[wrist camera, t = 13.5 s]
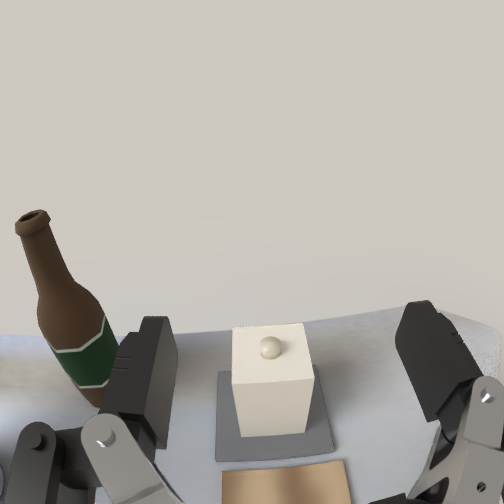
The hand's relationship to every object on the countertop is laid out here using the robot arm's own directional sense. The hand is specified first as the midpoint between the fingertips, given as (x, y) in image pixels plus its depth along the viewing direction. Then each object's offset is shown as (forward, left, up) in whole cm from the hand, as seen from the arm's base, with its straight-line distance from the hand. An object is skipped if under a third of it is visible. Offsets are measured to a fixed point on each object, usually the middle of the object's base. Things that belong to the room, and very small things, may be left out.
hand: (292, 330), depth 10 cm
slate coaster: (-2, +11, -24) cm, 27 cm away
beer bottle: (-23, +11, -25) cm, 35 cm away
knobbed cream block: (-2, +11, -24) cm, 26 cm away
